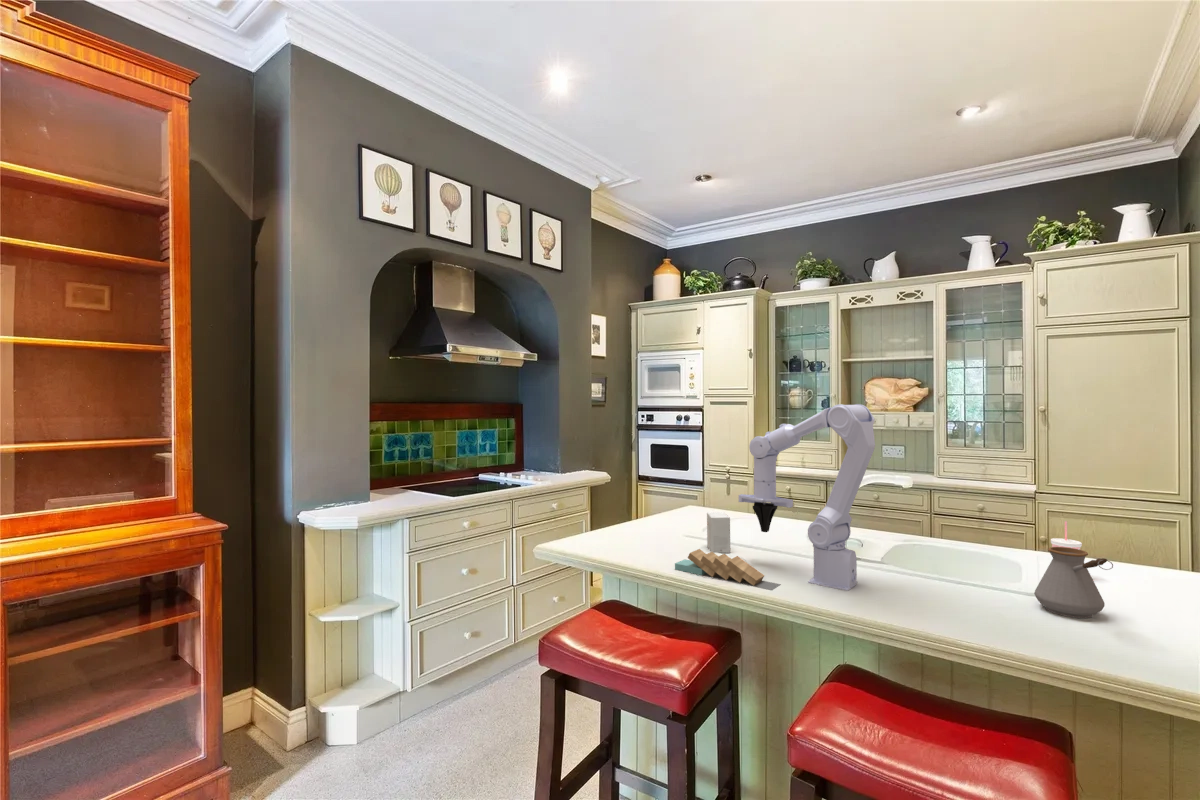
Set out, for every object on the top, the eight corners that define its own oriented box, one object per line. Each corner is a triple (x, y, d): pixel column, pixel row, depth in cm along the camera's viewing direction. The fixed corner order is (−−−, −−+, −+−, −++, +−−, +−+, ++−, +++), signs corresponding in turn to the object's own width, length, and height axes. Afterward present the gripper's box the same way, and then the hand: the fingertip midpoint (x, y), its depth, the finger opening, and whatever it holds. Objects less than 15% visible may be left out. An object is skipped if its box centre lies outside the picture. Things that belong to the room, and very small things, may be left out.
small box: (730, 553, 168) (730, 517, 168) (711, 553, 168) (711, 517, 168) (725, 546, 176) (725, 512, 176) (706, 546, 176) (706, 512, 176)
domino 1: (724, 567, 147) (699, 548, 152) (714, 572, 143) (689, 552, 148) (721, 572, 148) (697, 553, 152) (712, 577, 144) (687, 557, 148)
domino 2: (737, 570, 145) (711, 551, 149) (729, 575, 141) (702, 555, 145) (735, 575, 145) (709, 556, 150) (726, 580, 141) (700, 560, 146)
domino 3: (750, 572, 143) (724, 553, 147) (742, 577, 139) (715, 557, 143) (748, 577, 143) (721, 558, 148) (739, 582, 139) (712, 562, 144)
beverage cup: (1072, 581, 141) (1072, 524, 141) (1045, 574, 146) (1044, 519, 146) (1087, 578, 143) (1087, 522, 143) (1060, 572, 149) (1060, 518, 149)
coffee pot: (1025, 599, 128) (1025, 532, 128) (1088, 605, 124) (1088, 536, 124) (1069, 636, 108) (1069, 556, 108) (1146, 645, 104) (1145, 562, 104)
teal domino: (711, 564, 150) (684, 559, 155) (701, 568, 146) (674, 563, 151) (711, 570, 150) (684, 565, 155) (701, 575, 146) (674, 569, 151)
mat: (781, 585, 138) (781, 584, 138) (771, 591, 134) (771, 590, 134) (703, 569, 151) (703, 568, 151) (692, 574, 147) (692, 573, 147)
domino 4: (764, 575, 141) (737, 555, 145) (756, 580, 137) (728, 560, 141) (761, 580, 141) (734, 561, 146) (753, 585, 137) (726, 565, 142)
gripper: (733, 480, 156) (733, 530, 156) (785, 484, 147) (786, 538, 147) (744, 477, 162) (744, 525, 161) (795, 481, 152) (796, 533, 152)
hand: (765, 531), depth 155 cm, fingers closed
